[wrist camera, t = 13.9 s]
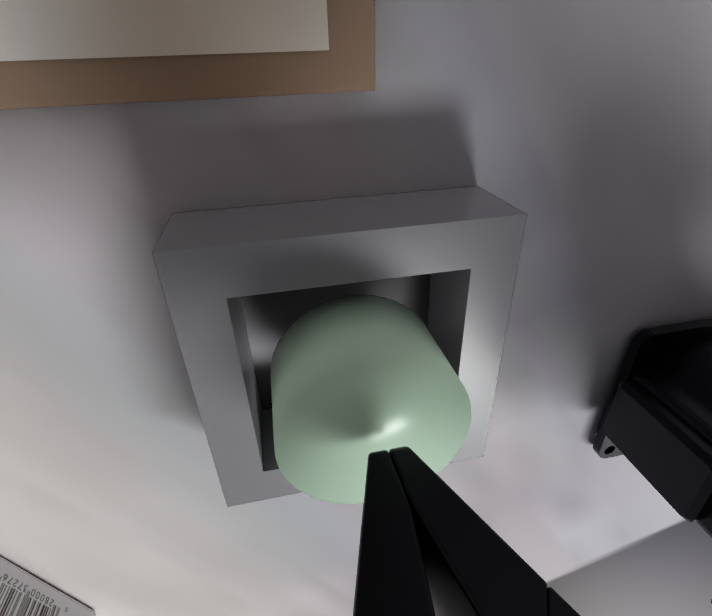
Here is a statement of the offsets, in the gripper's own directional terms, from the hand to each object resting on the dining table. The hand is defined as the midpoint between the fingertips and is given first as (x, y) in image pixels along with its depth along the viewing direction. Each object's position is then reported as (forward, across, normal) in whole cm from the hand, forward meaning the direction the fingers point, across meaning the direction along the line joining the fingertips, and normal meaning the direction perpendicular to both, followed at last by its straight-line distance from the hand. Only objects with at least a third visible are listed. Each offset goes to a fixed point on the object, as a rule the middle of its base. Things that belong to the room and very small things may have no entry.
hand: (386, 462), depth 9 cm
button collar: (+5, 0, 0) cm, 5 cm away
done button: (+3, 0, 0) cm, 3 cm away
